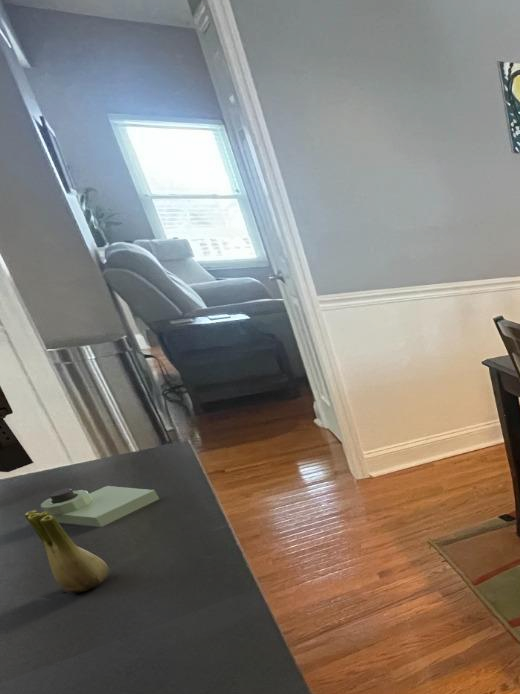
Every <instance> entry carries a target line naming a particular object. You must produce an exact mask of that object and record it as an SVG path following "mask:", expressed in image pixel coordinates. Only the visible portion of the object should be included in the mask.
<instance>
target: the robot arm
mask: <svg viewBox="0 0 520 694" xmlns="http://www.w3.org/2000/svg"><path fill="white" fill-rule="evenodd" d="M13 414H14V411H13V409H12V406H11V404H10V402H9V401H8V399H7V396H6V394H5V392H4V391H3V388H2V386H1V385H0V473H10V472H13V471H16V470H19V469H22V468H23V467H27V466H29V465H31V464H34V463H35V462H34V461H33V459H32V458H31V456H30V455H29V453H28V452H27V451H26V449H25V448H24V446H23V445H22V443H21V442H20V441H19V439H18V437H17V436H16V435H15V433H14V432H13V430H12V428H11V427H10V426H9V425H8V423H7V422H6V420H5V418H7V416H10V415H13Z"/></svg>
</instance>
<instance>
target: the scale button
mask: <svg viewBox="0 0 520 694" xmlns="http://www.w3.org/2000/svg"><path fill="white" fill-rule="evenodd" d="M73 491H74V490H72V488H63V489H58V490H55V491H53V492H51V493H50V494H49V495H48V497H49V499H50V498H51V499H52V501H53V502H54V503H55V504H56V503H62V502H65V501H68V500H71V499H73V498H75V497H76V496H75V494H74V493H73Z"/></svg>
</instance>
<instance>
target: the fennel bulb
mask: <svg viewBox="0 0 520 694" xmlns="http://www.w3.org/2000/svg"><path fill="white" fill-rule="evenodd" d="M24 517H25V519H26V520H27V522H28V523H29V525H31V527H32V528H33V530H34V532H35V533H36V535H37V536H38V537H39V539H40V540H41V542H42V543H43V545H44V548H45V552H46V556H47V558H48V559H47V560H48V564H49V566H50V569H51V572H52V575H53V577H54V580H55V581H56V583H57V584H58V586H60V587H61V588H62V589H63V591H64V592H65V593H69V594H70V593H71V594H80V593H84V592H87V591H89V590H93V589H95V588H97V587H99V586H100V585H102V584H103V582H104V581H106V579H107V578H108V576H109V574H110V568H109V566H108V564H107V563H106V562H105V561H104V560H103V559H102V558H100V557H99V556H97V555H95V554H94V553H92V552H90V551H88V550H86V549H84V548H83V547H80V546H77V545H76V544H75V543H74V541H73V540H72V539H71V537H70V536H69V535H68V534H67V532H66V531H65V529H64V528H63V527H62V525H61V523H58V521H57V520H56V519H55V518H54V517H53V516H50V514H49V513H48V512H46V511H44V510H43V511H42V512H38V510H36V509H35V510H29V511H27V512H25V513H24Z"/></svg>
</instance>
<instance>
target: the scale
mask: <svg viewBox="0 0 520 694" xmlns="http://www.w3.org/2000/svg"><path fill="white" fill-rule="evenodd" d="M72 491H73V493H74V494H75V496H76V497H75V498H73V499H71V500H68V501H65V502H62V503H56V504H55V503H54V502H53V501H52V499H51V498H50V497H49V498H48V499H46V500H44V501H43V502H41V503H40V508H41V509H42V510H43V512H44V511H46V512H48V513H49V514H50V516H53V517H54V518H55V519H56V520H57V521H58V523H59V524H68V525H77V526H89V527H97V528H102V527H104V526H107V525H108V524H111V523H113V522H115V521H117V520H119V519H121V518H123V517H125V516H127V515H129V514H132V513H134V512H136V511H138V510H140V509H143V508H144V507H146V506H149V505H150V504H152V503H154V502H157V501H159V500H160V497H159V496H158V494H157V492H156V490H155V489H146V488H134V487H123V486H112V485H111V486H110V485H106V486H104V487H101V488H99V489H97V490H95V491H92V492H90V493H89V492H88V490H83V489H79V490H78V489H77V490H72Z"/></svg>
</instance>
